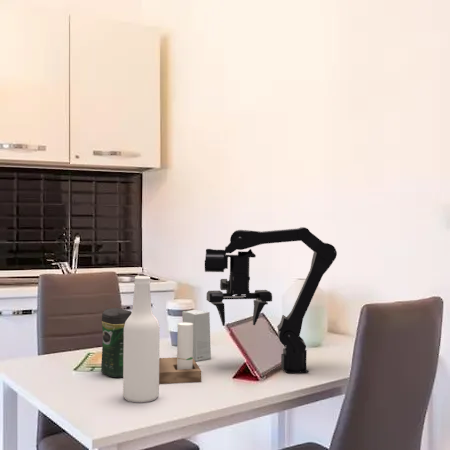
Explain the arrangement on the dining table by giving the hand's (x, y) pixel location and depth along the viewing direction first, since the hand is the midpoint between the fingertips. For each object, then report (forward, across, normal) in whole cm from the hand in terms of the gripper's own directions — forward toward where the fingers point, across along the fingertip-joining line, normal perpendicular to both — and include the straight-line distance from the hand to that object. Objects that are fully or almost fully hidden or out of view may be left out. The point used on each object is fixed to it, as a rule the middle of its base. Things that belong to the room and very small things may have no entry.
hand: (238, 325), depth 173 cm
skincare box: (+13, +10, -16) cm, 23 cm away
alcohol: (+13, +30, +22) cm, 39 cm away
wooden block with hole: (+13, +20, +3) cm, 24 cm away
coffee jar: (+13, +35, -1) cm, 37 cm away
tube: (+13, +17, +6) cm, 22 cm away
